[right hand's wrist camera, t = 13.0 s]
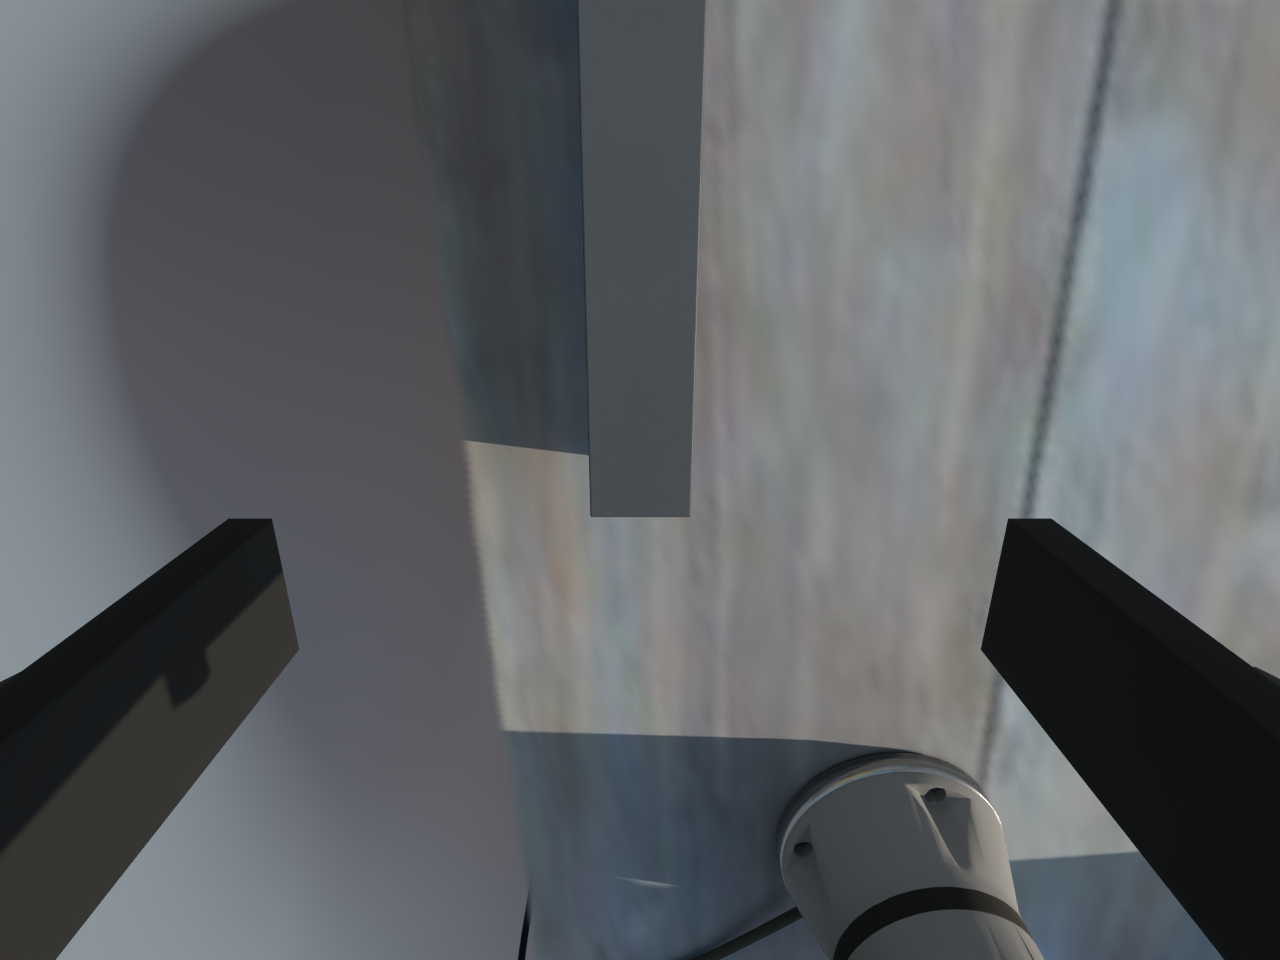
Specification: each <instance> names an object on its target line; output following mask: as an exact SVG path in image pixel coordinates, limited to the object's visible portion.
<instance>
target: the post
mask: <svg viewBox="0 0 1280 960" xmlns="http://www.w3.org/2000/svg"><path fill="white" fill-rule="evenodd" d="M706 10H707V0H577V20H578V58H579V97H580V135H581V173H582V211H583V249H584V287H585V325H586V363H587V401H588V439H589V477H590V515H591V517H690V516H691V496H692V463H693V431H694V399H695V366H696V334H697V302H698V269H699V237H700V205H701V172H702V140H703V107H704V75H705V43H706Z"/></svg>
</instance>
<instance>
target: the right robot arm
mask: <svg viewBox="0 0 1280 960" xmlns="http://www.w3.org/2000/svg"><path fill="white" fill-rule="evenodd" d="M298 650H299V647H298V642H297V637H296V632H295V628H294V623H293V618H292V613H291V608H290V604H289V599H288V594H287V589H286V584H285V580H284V575H283V570H282V565H281V561H280V556H279V551H278V546H277V542H276V537H275V532H274V527H273V522H272V519H228V520H226V521H225V522H224V523H222V524H221V525H219V526H218V527H217V528H215V529H214V530H213V531H211V532H210V533H209V534H207V535H206V536H205V537H203V538H202V539H201V540H199V541H198V542H196V543H195V544H194V545H192V546H191V547H190V548H188V549H187V550H186V551H184V552H183V553H181V554H180V555H179V556H177V557H176V558H175V559H173V560H172V561H171V562H169V563H168V564H167V565H165V566H164V567H163V568H161V569H160V570H158V571H157V572H156V573H154V574H153V575H152V576H150V577H149V578H148V579H146V580H145V581H144V582H142V583H141V584H139V585H138V586H137V587H135V588H134V589H133V590H131V591H130V592H129V593H127V594H126V595H125V596H123V597H122V598H121V599H119V600H118V601H116V602H115V603H114V604H112V605H111V606H110V607H108V608H107V609H106V610H104V611H103V612H101V613H100V614H99V615H97V616H96V617H95V618H93V619H92V620H91V621H89V622H88V623H87V624H85V625H84V626H83V627H81V628H80V629H78V630H77V631H76V632H74V633H73V634H72V635H70V636H69V637H68V638H66V639H65V640H64V641H62V642H61V643H59V644H58V645H57V646H55V647H54V648H53V649H51V650H50V651H49V652H47V653H46V654H44V655H43V656H42V657H40V658H39V659H38V660H36V661H35V662H34V663H32V664H31V665H30V666H28V667H27V668H26V669H24V670H23V671H21V672H19V673H17V674H15V675H14V676H12V677H9V678H8V679H5V680H3V681H1V682H0V960H56V958H57V957H58V956H59V955H60V953H61V952H62V951H63V949H64V948H65V947H66V946H67V944H68V943H69V942H70V941H71V939H72V938H73V937H74V935H75V934H76V933H77V932H78V930H79V929H80V928H81V927H82V925H83V924H84V923H85V921H86V920H87V919H88V918H89V916H90V915H91V914H92V913H93V911H94V910H95V909H96V907H97V906H98V905H99V904H100V902H101V901H102V900H103V899H104V897H105V896H106V895H107V893H108V892H109V891H110V890H111V888H112V887H113V886H114V885H115V883H116V882H117V881H118V879H119V878H120V877H121V876H122V874H123V873H124V872H125V870H126V869H127V868H128V867H129V865H130V864H131V863H132V862H133V860H134V859H135V858H136V857H137V855H138V854H139V853H140V851H141V850H142V849H143V848H144V846H145V845H146V844H147V843H148V841H149V840H150V839H151V837H152V836H153V835H154V834H155V832H156V831H157V830H158V829H159V827H160V826H161V825H162V823H163V822H164V821H165V820H166V818H167V817H168V816H169V815H170V813H171V812H172V811H173V809H174V808H175V807H176V806H177V804H178V803H179V802H180V801H181V799H182V798H183V797H184V795H185V794H186V793H187V792H188V790H189V789H190V788H191V787H192V785H193V784H194V783H195V781H196V780H197V779H198V778H199V776H200V775H201V774H202V773H203V771H204V770H205V769H206V767H207V766H208V765H209V763H210V762H211V761H212V760H213V758H214V757H215V756H216V755H217V753H218V752H219V751H220V750H221V748H222V747H223V746H224V744H225V743H226V742H227V741H228V739H229V738H230V737H231V736H232V734H233V733H234V732H235V730H236V729H237V728H238V727H239V725H240V724H241V723H242V722H243V720H244V719H245V718H246V716H247V715H248V714H249V713H250V711H251V710H252V709H253V708H254V706H255V705H256V704H257V702H258V701H259V700H260V699H261V697H262V696H263V695H264V693H265V692H266V691H267V690H268V688H269V687H270V686H271V685H272V683H273V682H274V681H275V680H276V678H277V677H278V676H279V674H280V673H281V672H282V671H283V669H284V668H285V667H286V665H287V664H288V663H289V662H290V660H291V659H292V658H293V657H294V655H295V654H296V653H297V652H298ZM981 650H982V652H983V653H984V654H985V655H986V657H987V658H988V659H989V660H990V662H991V663H992V664H993V666H994V667H995V668H996V669H997V671H998V672H999V673H1000V674H1001V676H1002V677H1003V678H1004V680H1005V681H1006V682H1007V683H1008V685H1009V686H1010V687H1011V688H1012V690H1013V691H1014V692H1015V694H1016V695H1017V696H1018V697H1019V699H1020V700H1021V701H1022V702H1023V704H1024V705H1025V706H1026V708H1027V709H1028V710H1029V711H1030V713H1031V714H1032V715H1033V716H1034V718H1035V719H1036V720H1037V722H1038V723H1039V724H1040V725H1041V727H1042V728H1043V729H1044V730H1045V732H1046V733H1047V734H1048V736H1049V737H1050V738H1051V739H1052V741H1053V742H1054V743H1055V745H1056V746H1057V747H1058V748H1059V750H1060V751H1061V752H1062V753H1063V755H1064V756H1065V757H1066V759H1067V760H1068V761H1069V762H1070V764H1071V765H1072V766H1073V767H1074V769H1075V770H1076V771H1077V773H1078V774H1079V775H1080V776H1081V778H1082V779H1083V780H1084V781H1085V783H1086V784H1087V785H1088V787H1089V788H1090V789H1091V790H1092V792H1093V793H1094V794H1095V795H1096V797H1097V798H1098V799H1099V801H1100V802H1101V803H1102V804H1103V806H1104V807H1105V808H1106V809H1107V811H1108V812H1109V813H1110V815H1111V816H1112V817H1113V818H1114V820H1115V821H1116V822H1117V823H1118V825H1119V826H1120V827H1121V829H1122V830H1123V831H1124V832H1125V834H1126V835H1127V836H1128V837H1129V839H1130V840H1131V841H1132V843H1133V844H1134V845H1135V846H1136V848H1137V849H1138V850H1139V851H1140V853H1141V854H1142V855H1143V857H1144V858H1145V859H1146V860H1147V862H1148V863H1149V864H1150V865H1151V867H1152V868H1153V869H1154V871H1155V872H1156V873H1157V874H1158V876H1159V877H1160V878H1161V879H1162V881H1163V882H1164V883H1165V885H1166V886H1167V887H1168V888H1169V890H1170V891H1171V892H1172V893H1173V895H1174V896H1175V897H1176V899H1177V900H1178V901H1179V902H1180V904H1181V905H1182V906H1183V907H1184V909H1185V910H1186V911H1187V913H1188V914H1189V915H1190V916H1191V918H1192V919H1193V920H1194V921H1195V923H1196V924H1197V925H1198V927H1199V928H1200V929H1201V930H1202V932H1203V933H1204V934H1205V935H1206V937H1207V938H1208V939H1209V941H1210V942H1211V943H1212V944H1213V946H1214V947H1215V948H1216V949H1217V951H1218V952H1219V953H1220V955H1221V956H1222V957H1223V958H1224V960H1280V679H1279V678H1277V677H1275V676H1273V675H1271V674H1269V673H1267V672H1265V671H1263V670H1261V669H1259V668H1257V667H1252V666H1250V665H1249V664H1248V663H1246V662H1245V661H1244V660H1242V659H1241V658H1240V657H1238V656H1237V655H1236V654H1234V653H1233V652H1231V651H1230V650H1229V649H1227V648H1226V647H1225V646H1223V645H1222V644H1221V643H1219V642H1218V641H1217V640H1215V639H1214V638H1212V637H1211V636H1210V635H1208V634H1207V633H1206V632H1204V631H1203V630H1202V629H1200V628H1199V627H1198V626H1196V625H1195V624H1193V623H1192V622H1191V621H1189V620H1188V619H1187V618H1185V617H1184V616H1183V615H1181V614H1180V613H1179V612H1177V611H1176V610H1174V609H1173V608H1172V607H1170V606H1169V605H1168V604H1166V603H1165V602H1164V601H1162V600H1161V599H1160V598H1158V597H1157V596H1155V595H1154V594H1153V593H1151V592H1150V591H1149V590H1147V589H1146V588H1145V587H1143V586H1142V585H1141V584H1139V583H1138V582H1136V581H1135V580H1134V579H1132V578H1131V577H1130V576H1128V575H1127V574H1126V573H1124V572H1123V571H1122V570H1120V569H1119V568H1117V567H1116V566H1115V565H1113V564H1112V563H1111V562H1109V561H1108V560H1107V559H1105V558H1104V557H1103V556H1101V555H1100V554H1099V553H1097V552H1096V551H1094V550H1093V549H1092V548H1090V547H1089V546H1088V545H1086V544H1085V543H1084V542H1082V541H1081V540H1080V539H1078V538H1077V537H1075V536H1074V535H1073V534H1071V533H1070V532H1069V531H1067V530H1066V529H1065V528H1063V527H1062V526H1061V525H1059V524H1058V523H1056V522H1055V521H1054V520H1052V519H1008V522H1007V527H1006V532H1005V537H1004V541H1003V546H1002V551H1001V556H1000V561H999V565H998V570H997V575H996V580H995V584H994V589H993V594H992V599H991V604H990V608H989V613H988V618H987V623H986V627H985V632H984V637H983V642H982V647H981ZM776 848H777V855H778V860H779V864H780V869H781V874H782V878H783V881H784V884H785V886H786V888H787V891H788V892H789V894H790V896H791V898H792V900H793V901H794V903H795V905H796V906H797V907H795V908H793V909H791V910H789V911H787V912H785V913H783V914H782V915H780V916H778V917H776V918H774V919H772V920H770V921H768V922H766V923H765V924H763V925H761V926H759V927H757V928H755V929H753V930H751V931H749V932H747V933H745V934H743V935H742V936H740V937H738V938H736V939H734V940H732V941H730V942H728V943H726V944H724V945H722V946H720V947H718V948H716V949H714V950H711V951H709V952H707V953H705V954H703V955H700V956H698V957H695V958H693V959H690V960H720V959H722V958H724V957H726V956H728V955H730V954H732V953H734V952H736V951H738V950H740V949H742V948H744V947H746V946H748V945H750V944H752V943H754V942H756V941H758V940H760V939H762V938H764V937H766V936H768V935H770V934H772V933H773V932H775V931H777V930H779V929H781V928H783V927H785V926H787V925H789V924H791V923H793V922H795V921H796V920H798V919H800V918H802V917H803V918H804V920H805V921H806V923H807V925H808V926H809V928H810V929H811V931H812V933H813V934H814V936H815V938H816V939H817V941H818V943H819V944H820V946H821V948H822V949H823V951H824V953H825V954H826V956H827V958H828V959H829V960H1044V958H1043V956H1042V954H1041V953H1040V951H1039V949H1038V947H1037V945H1036V944H1035V942H1034V940H1033V938H1032V937H1031V935H1030V933H1029V931H1028V929H1027V927H1026V925H1025V923H1024V921H1023V920H1022V918H1021V916H1020V914H1019V910H1018V905H1017V900H1016V895H1015V889H1014V884H1013V879H1012V874H1011V868H1010V863H1009V858H1008V853H1007V848H1006V842H1005V837H1004V833H1003V829H1002V826H1001V822H1000V820H999V818H998V815H997V814H996V812H995V810H994V809H993V807H992V805H991V804H990V802H989V800H988V799H987V797H986V795H985V794H984V792H983V790H982V789H981V788H980V786H979V785H978V784H977V783H976V782H975V781H974V780H973V779H972V778H971V777H970V776H969V775H968V774H966V773H965V772H964V771H962V770H961V769H959V768H957V767H956V766H954V765H952V764H950V763H948V762H945V761H943V760H940V759H937V758H933V757H930V756H926V755H920V754H912V753H883V754H876V755H870V756H865V757H861V758H857V759H854V760H851V761H848V762H845V763H843V764H840V765H838V766H836V767H834V768H832V769H830V770H828V771H826V772H824V773H823V774H821V775H819V776H818V777H817V778H815V779H814V780H812V781H811V782H810V783H809V784H807V785H806V786H805V787H804V788H803V789H802V790H801V791H800V792H799V793H798V794H797V795H796V796H795V797H794V799H793V800H792V801H791V802H790V804H789V805H788V807H787V808H786V810H785V812H784V814H783V816H782V819H781V821H780V824H779V827H778V831H777V839H776ZM530 921H531V917H530V907H529V898H528V897H527V903H526V909H525V915H524V921H523V927H522V933H521V940H520V947H519V954H518V960H525V957H526V949H527V941H528V934H529V928H530Z"/></svg>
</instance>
